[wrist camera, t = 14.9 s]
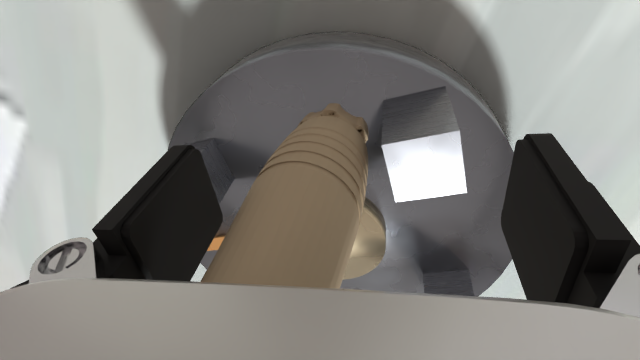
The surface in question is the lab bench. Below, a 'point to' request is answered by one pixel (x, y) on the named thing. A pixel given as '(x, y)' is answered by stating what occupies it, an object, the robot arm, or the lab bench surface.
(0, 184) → the lab bench surface
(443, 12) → the lab bench surface
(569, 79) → the lab bench surface
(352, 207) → the handle
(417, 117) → the round crown base
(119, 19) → the lab bench surface
